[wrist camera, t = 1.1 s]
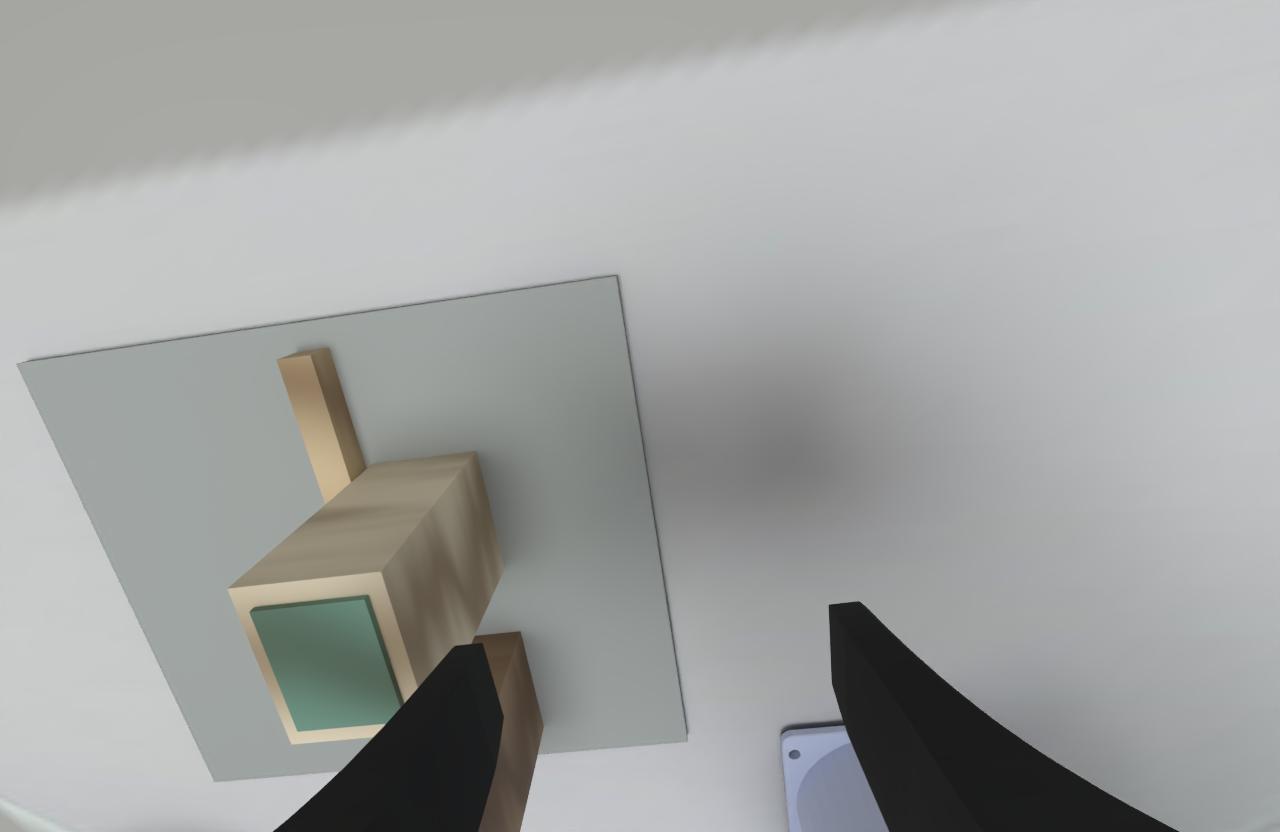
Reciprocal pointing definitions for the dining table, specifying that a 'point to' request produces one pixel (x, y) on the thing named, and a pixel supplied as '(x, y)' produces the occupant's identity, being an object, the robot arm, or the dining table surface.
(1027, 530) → the dining table surface
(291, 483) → the grey mat
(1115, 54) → the dining table surface
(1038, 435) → the dining table surface
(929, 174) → the dining table surface
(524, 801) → the walnut block
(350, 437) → the oak rail
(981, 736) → the robot arm
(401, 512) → the beech block
